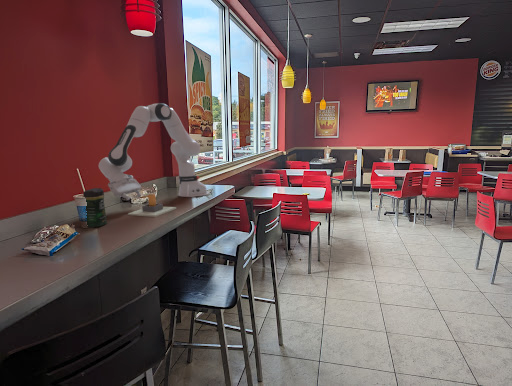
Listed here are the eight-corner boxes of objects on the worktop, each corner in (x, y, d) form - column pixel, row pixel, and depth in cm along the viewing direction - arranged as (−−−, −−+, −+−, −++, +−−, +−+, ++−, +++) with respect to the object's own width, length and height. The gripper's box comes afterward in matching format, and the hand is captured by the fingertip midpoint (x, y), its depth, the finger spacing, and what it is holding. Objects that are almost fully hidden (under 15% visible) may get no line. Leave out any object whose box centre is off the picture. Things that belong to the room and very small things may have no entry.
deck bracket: (128, 215, 186) (127, 208, 186) (150, 207, 205) (150, 200, 204) (155, 216, 180) (154, 209, 180) (176, 208, 199) (175, 202, 198)
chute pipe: (147, 210, 191) (146, 195, 190) (152, 209, 195) (150, 194, 193) (153, 211, 190) (152, 195, 188) (158, 209, 194) (156, 194, 192)
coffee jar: (99, 228, 162) (95, 190, 158) (84, 228, 162) (79, 190, 159) (110, 222, 171) (106, 186, 168) (95, 222, 172) (91, 187, 169)
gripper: (109, 179, 186) (125, 197, 184) (133, 175, 205) (148, 191, 203) (103, 187, 188) (119, 205, 187) (128, 182, 207) (143, 198, 206)
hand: (134, 197), depth 195 cm, fingers open, 8 cm apart
